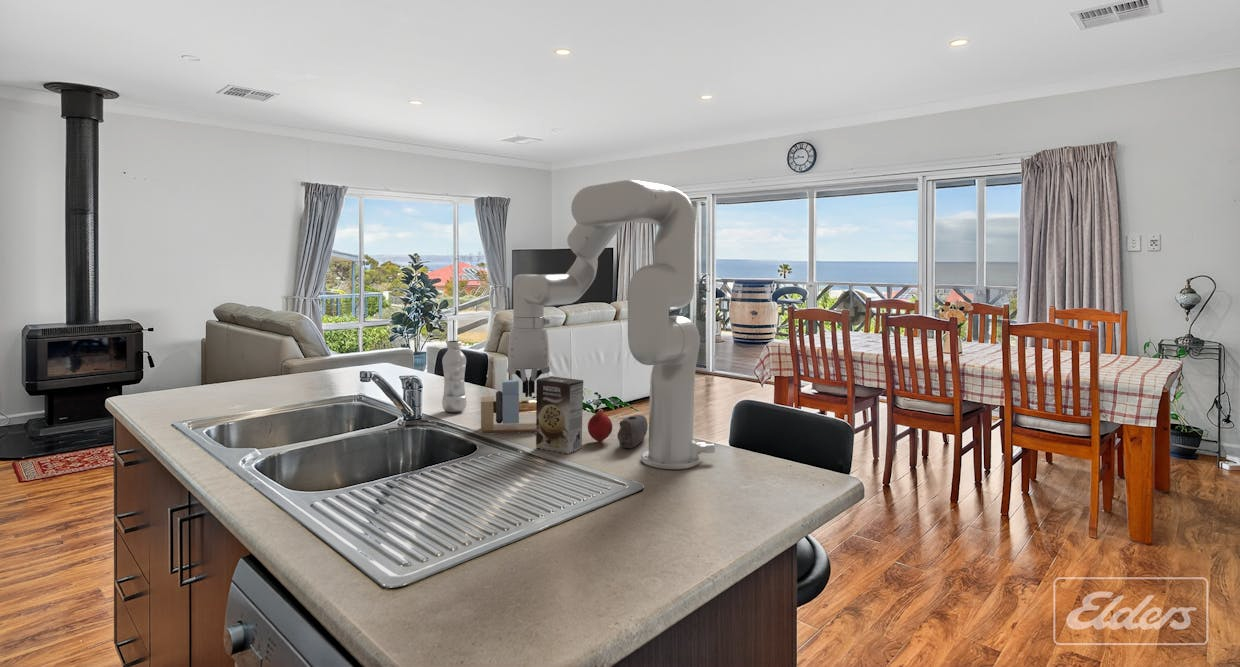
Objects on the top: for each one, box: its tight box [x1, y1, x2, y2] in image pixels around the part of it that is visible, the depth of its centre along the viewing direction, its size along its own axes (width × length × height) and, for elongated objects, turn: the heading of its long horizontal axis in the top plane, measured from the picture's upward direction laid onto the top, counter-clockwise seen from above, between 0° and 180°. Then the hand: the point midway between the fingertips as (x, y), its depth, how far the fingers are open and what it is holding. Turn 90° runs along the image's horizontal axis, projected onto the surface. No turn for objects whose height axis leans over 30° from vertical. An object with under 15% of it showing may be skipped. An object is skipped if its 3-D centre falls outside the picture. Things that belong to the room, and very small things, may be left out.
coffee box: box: [535, 375, 584, 455], centre depth 154 cm, size 9×6×16 cm
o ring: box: [495, 390, 503, 424], centre depth 170 cm, size 2×8×8 cm, turn 10°
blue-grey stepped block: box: [501, 379, 520, 424], centre depth 170 cm, size 4×7×10 cm, turn 10°
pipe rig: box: [480, 396, 536, 434], centre depth 171 cm, size 17×6×8 cm, turn 100°
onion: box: [587, 408, 613, 443], centre depth 161 cm, size 6×6×8 cm
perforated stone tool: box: [617, 414, 649, 449], centre depth 160 cm, size 15×5×7 cm, turn 159°
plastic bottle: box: [441, 340, 467, 414], centre depth 189 cm, size 6×7×20 cm
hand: (528, 395), depth 171 cm, fingers closed
